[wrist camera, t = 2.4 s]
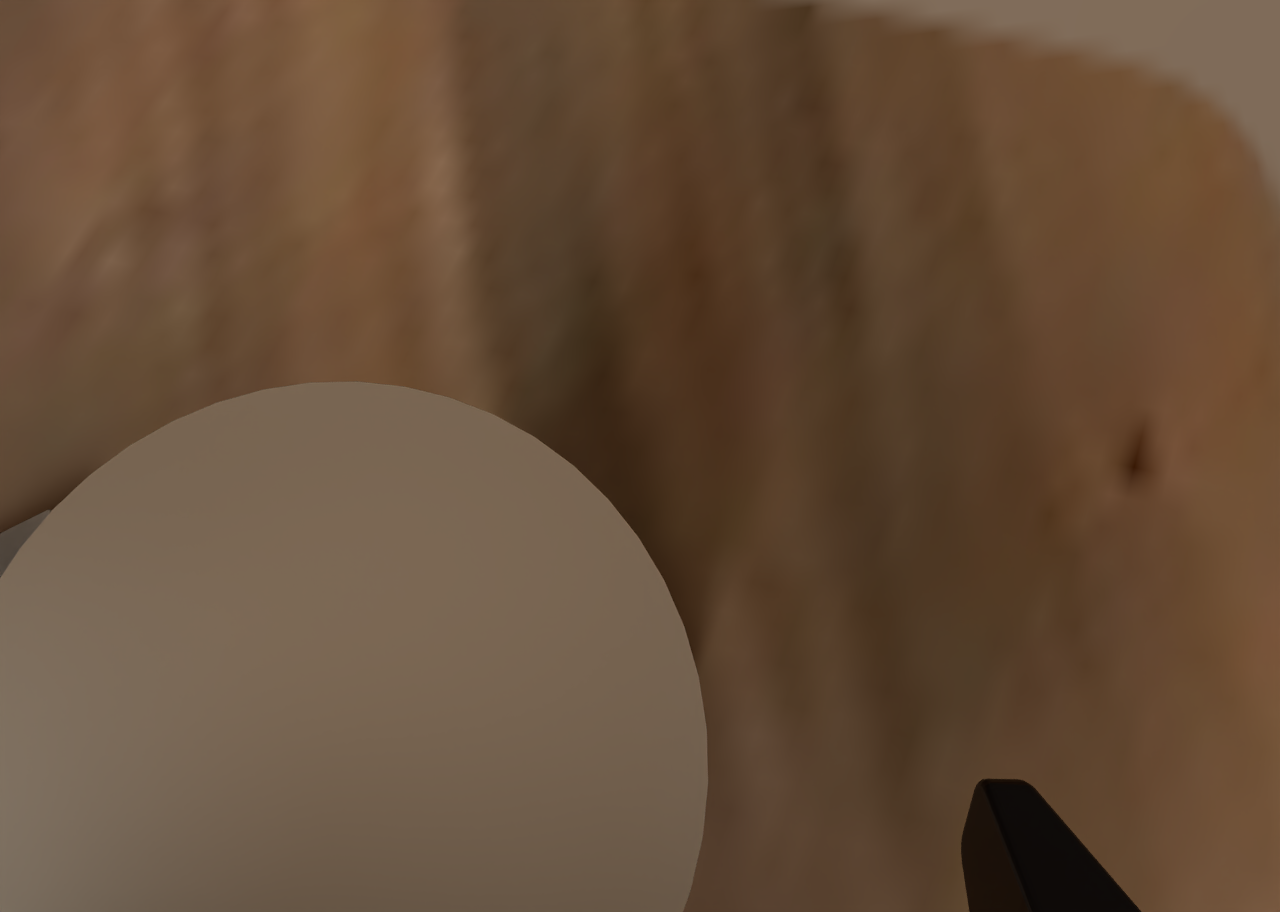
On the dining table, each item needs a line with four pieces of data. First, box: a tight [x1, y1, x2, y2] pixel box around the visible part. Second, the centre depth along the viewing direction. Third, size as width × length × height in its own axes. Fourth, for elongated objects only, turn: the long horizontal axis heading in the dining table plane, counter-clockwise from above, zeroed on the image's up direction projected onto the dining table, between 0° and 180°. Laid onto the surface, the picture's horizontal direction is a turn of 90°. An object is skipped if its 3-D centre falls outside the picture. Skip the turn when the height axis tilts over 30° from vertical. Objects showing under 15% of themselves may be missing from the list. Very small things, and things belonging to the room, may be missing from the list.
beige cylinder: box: [0, 381, 708, 912], centre depth 11 cm, size 4×4×13 cm
